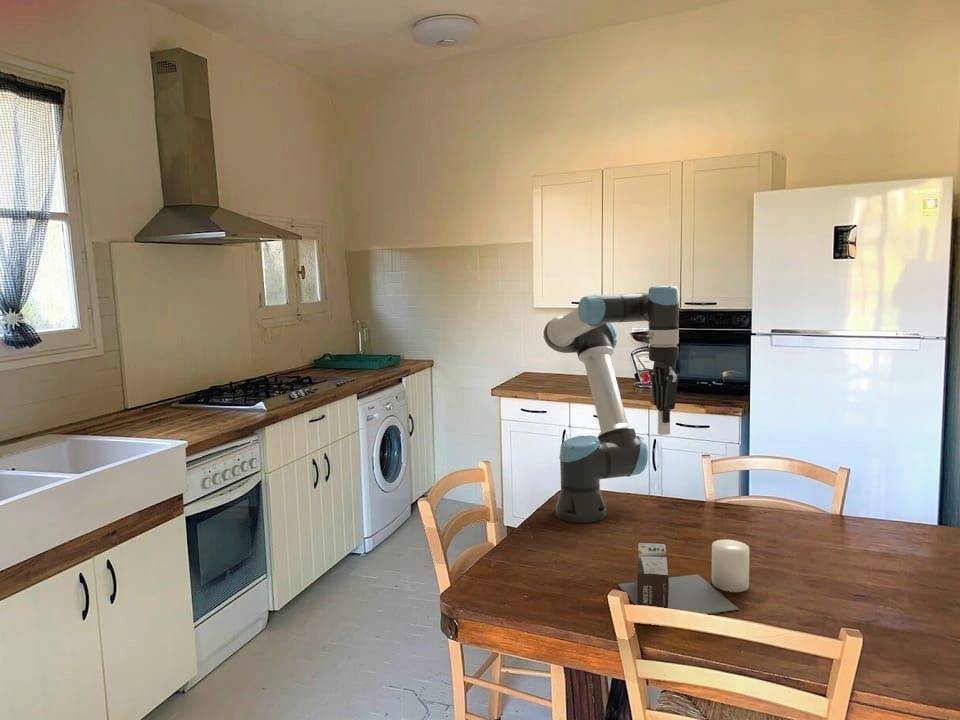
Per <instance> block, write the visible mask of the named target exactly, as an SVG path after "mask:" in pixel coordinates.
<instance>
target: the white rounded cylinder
mask: <svg viewBox="0 0 960 720" xmlns="http://www.w3.org/2000/svg"><path fill="white" fill-rule="evenodd" d="M711 585H713V587H714V588H716V587H717V588H716V589H719V590H722V591H724V592H728V591H729V593H741V592H745V591H747V590H748V589H749V588H750V546H749V545H748V544H746V543H744V542H741V541H738V540H736V539H735V540H734V539H717V540H715V541H713V542H712V544H711Z"/></svg>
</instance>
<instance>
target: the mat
mask: <svg viewBox="0 0 960 720" xmlns="http://www.w3.org/2000/svg"><path fill="white" fill-rule="evenodd" d="M617 586H618V588H620V590H621V591H622V592H623V591H625V592H627V593H628V594H629V598H630V599H629V598H628V599H629V600H630V601H631V602H632V603H633V604H638V600H637V581H632V582H623V583H618V584H617ZM668 608H676V609H682V610H688V611H695V612H702V613H707V614H710V615H716V614H717V613H718V614H721V613H720V612H725V613H727V612H726V611H733V612H735V611H734V610H739V608H738V607H737V606H736V605H735V604H733V603H732V602H731V601H730V600H729V599H728V598H727V597H725V595H724V594H722V593H721V592H719V591H718V590H717V588H716V587H715V586H712V584H710V583H709V582H708V581H707V580H705V579H704V578H703V577H702V576H701V575H699V574H698V573H696V574H690V575H681V576H674V577H673V576H672V577H669V591H668Z"/></svg>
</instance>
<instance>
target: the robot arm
mask: <svg viewBox="0 0 960 720" xmlns="http://www.w3.org/2000/svg"><path fill="white" fill-rule="evenodd" d="M679 311H680V299H679V289H678V286H675V285H658V286H657V285H655V286H650V287H649V288H648V292H647V293H645V292H640V293H639V292H636V293H629V294H628V293H626V294H625V293H624V294H606V295H605V294H603V295H596V294H593V295H589V296H588V295H587V296H583V297H581V298H580V300H579V302H578V304H577V308H575V309H573V310H572V311H570V312H568V313H567V314H565V315H563V316H556V317H554V318H552V319H551V320H550V321H548V322H547V323H546V324H545V326H544V329H543V339H544V341H545V343H546V345H547V346H548V347H550V349H552V350H553V351H555V352H558V353H564V354H573V353H574V354H575V353H576V354H577V358H578V359H577V360H579V361H580V362H581V363H583V364H584V367H585V370H586V371H585V372H586V376H587V379H588V384H589V388H590V392H591V397H592V400H593V405H594V408H595V412H596V417H597V421H598V425H599V429H600V432H599V433H598V435H597V436H594V435H590V434H589V435H578V436H572V437H571V438H570V437H569V438H568V439H565V440H564V441H563V442H562V443H561V445H560V450H559V451H560V452H559V465H560V466H559V467H560V492H559V495H558V497H557V502H556V504H555V516H556V517H557V518H558V519H559V520H563V521H565V522H568V523H575V524H576V523H577V524H587V523H588V524H589V523H596V522H599V521H602V520H603V519H605V518H606V516H607V506H606V504H605V501H604V498H603V495H602V492H601V487H600V485H601V483H600V482H601V480H604V479H605V480H606V479H614V478H615V479H617V478H623V477H629V478H630V477H631V476H637V475H640V474H642V473H643V472H644V471H645V469H646V468H647V463H648V460H649V459H648V458H649V457H648V456H649V450H648V446H647V442H646V440H645V439H644V437H642V436H640V435H637V434H636V431H635V428H633V427H632V426H630V425H629V423H628V420H627V416H626V412H625V408H624V404H623V401H622V397H621V396H622V395H621V393H620V389H619V385H618V382H617V377H616V375H615V374H616V373H615V370H614V367H613V363H612V358H611V357H612V355H613V353H614V349H615V348H616V346H617V341H618V340H617V337H618V336H617V330H616V327H615V325H614V324H613V323H630V322H648V334H647V337H648V344H649V345H650V346H649V347H648V360H649V361H651V362H653V368H651V369H649V370H648V373H649V376H650V384H651V393H652V394H651V395H652V402H653V403H652V404H653V406H656V410H657V434H658V435H659V436H665V435H666V436H667V435H671V411H672V410H675V409H676V401H677V393H678V392H677V391H678V383H679V381H680V378H681V377H680V374H679V373H675V365H674V362H676V361H678V360H679V356H680V355H679V354H680V353H679V351H680V348H679V346H678V344H679V342H680V341H679V340H680V337H679V335H680V334H679V332H680V330H679V329H680V328H679V326H680V325H679V321H680V319H679V318H680V315H679V314H680V312H679Z"/></svg>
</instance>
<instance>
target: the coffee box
mask: <svg viewBox="0 0 960 720" xmlns="http://www.w3.org/2000/svg"><path fill="white" fill-rule="evenodd" d="M636 569H637V573H636V574H637V575H636V576H637V577H636V579H637V581H636V582H637V600H638V605H649V606H658V607H664V608H668V591H669V578H670V576H669V570H668V569H669V568H668V559H667V547H666V544H664V543H650V542H648V543H647V542H638V545H637V567H636Z"/></svg>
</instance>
